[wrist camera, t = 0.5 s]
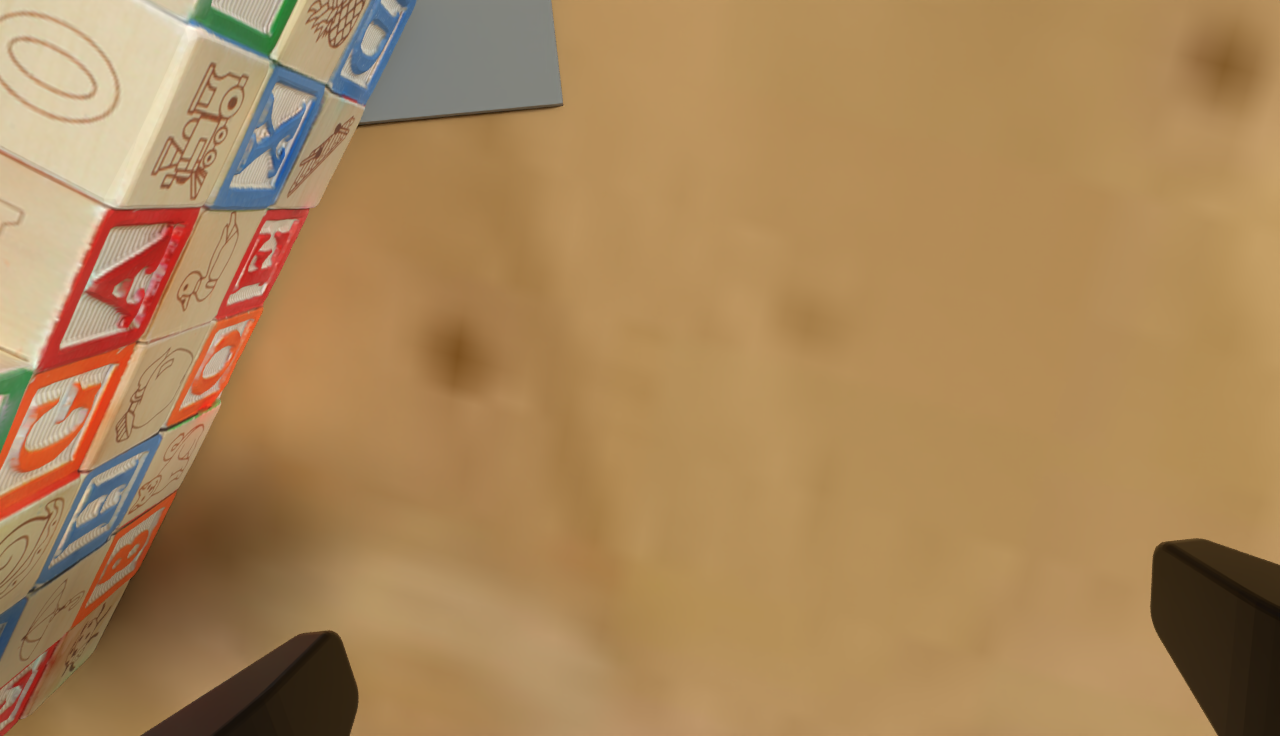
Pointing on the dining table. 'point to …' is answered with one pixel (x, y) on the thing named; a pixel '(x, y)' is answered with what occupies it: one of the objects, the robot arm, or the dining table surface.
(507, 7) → the mat
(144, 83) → the stack of blocks
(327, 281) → the dining table surface
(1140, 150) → the dining table surface
